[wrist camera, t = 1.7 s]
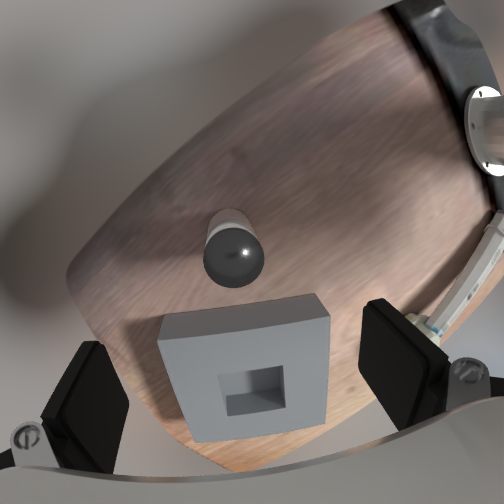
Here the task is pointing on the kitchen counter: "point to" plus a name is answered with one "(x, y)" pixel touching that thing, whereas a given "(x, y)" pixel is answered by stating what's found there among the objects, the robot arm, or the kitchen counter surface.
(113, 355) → the kitchen counter surface
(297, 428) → the socket block
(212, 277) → the cylinder
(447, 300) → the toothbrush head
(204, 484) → the robot arm
